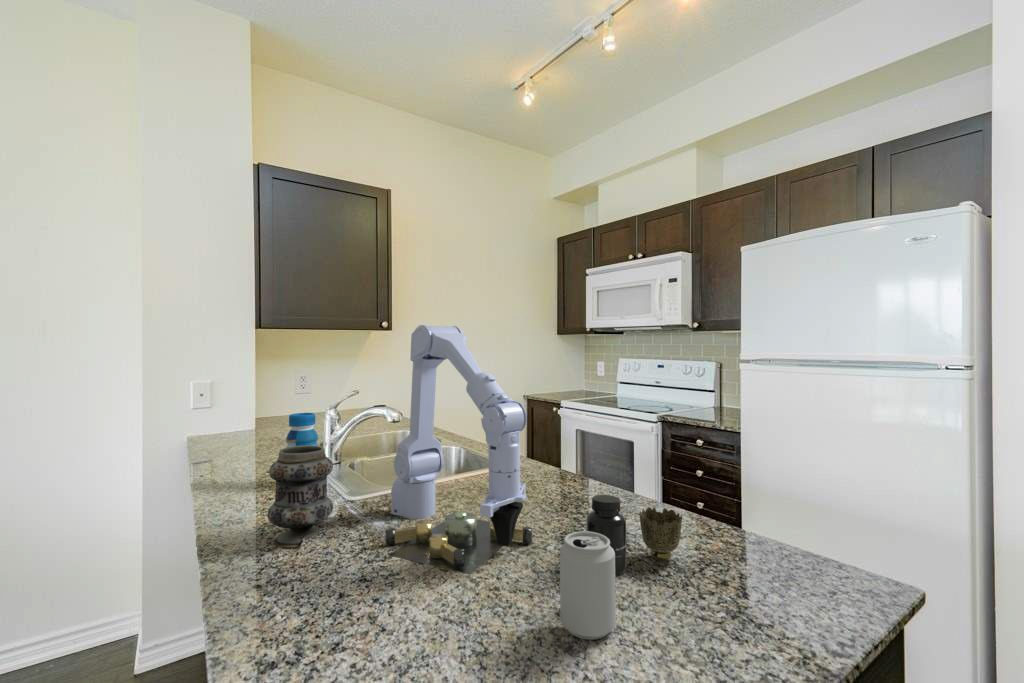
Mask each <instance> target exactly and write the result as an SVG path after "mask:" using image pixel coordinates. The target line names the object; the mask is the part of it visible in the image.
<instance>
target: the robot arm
mask: <svg viewBox="0 0 1024 683" xmlns="http://www.w3.org/2000/svg"><path fill="white" fill-rule="evenodd" d="M410 341H411V342H410V361H411V362H412V373H411V375H412V376H411V377H412V378H411V397H410V416H409V418H410V419H409V434H408V435H407V436H406V437H405V438H404V439H403V440H402V441H400V442H399V443H398V444H397V447H396V448H397V450H396V455H395V457H394V461H393V467H394V473H395V475H396V476H397V478H395V480H394V481H393V483H392V486H391V491H390V493H391V495H390V498H391V499H390V502H391V503H390V507H391V508H390V509H391V510H390V511H391V512H390V513H391V514H390V515H395V516H401V517H403V518H406V519H410V520H424V519H427V518H431V517H433V516H434V515H435V514H436V479H437V478H438V477H439V473H440V472H441V471H442V469H443V466H444V456H443V451H442V446H443V445H442V442H441V441H439V439H437V438H436V437H435V436H434V428H435V426H434V425H435V411H436V410H435V408H436V405H435V403H436V387H437V386H436V385H437V384H436V383H437V368H438V367H439V365H441V364H442V363H443V362H444V361H446V360H448V361H449V362H450V363H451V365H453V367H454V368H455V369H456V370H457V372H458V373H459V374H460V376H462V377H463V379H464V380H465V381H466V382H467V383H466V387H465V388H466V389H465V390H466V393H467V394H468V397H470V399H471V400H472V402H473V403H474V405H475V406H476V408H477V409H478V411H479V412H480V414H481V415H482V418H481V419H480V421H481V427H482V429H483V432H484V434H485V442H486V444H487V445H488V493H487V494H486V496H485V498H484V501H483V502H482V503H480V506H479V508H480V509H479V510H480V511H479V516H480V517H484V518H489V519H490V520H491V521H492V524H493V526H494V530H495V533H496V537H497V541H498V545H502V546H503V547H510V546H511V545H512V543H513V540H514V539H513V535H514V530H515V526H517V521H518V519H519V517H520V514H521V511H522V510H523V509H524V503H523V502H524V501H525V500H526V499H527V493H526V492H527V491H526V483H524V482H521V432H522V431H523V430H524V429H525V427H526V425H527V422H528V421H527V413H526V409H525V408H524V406H523V404H522V402H520V401H517V400H513V398H511V397H508V395H507V394H506V393H505V391H504V390H503V389H502V387H501V386H500V384H498V382H497V381H496V378H495V376H494V374H491V373H489V372H483V371H482V369H481V368H480V367H479V365H478V363H477V361H476V360H475V358H474V356H473V354H472V353H471V352H470V350H469V347H467V335H466V334H464V332H463V330H462V329H461V327H459V326H457V325H453V326H443V325H442V326H441V325H426V324H420V325H417V327H416V328H415V330H413V332H412V333H411V338H410Z"/></svg>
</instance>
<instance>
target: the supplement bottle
mask: <svg viewBox="0 0 1024 683" xmlns="http://www.w3.org/2000/svg"><path fill="white" fill-rule="evenodd" d="M621 508H622V507H621V499H620V498H619V497H617V496H614V495H612V494H611V495H610V494H598V495H597V494H596V495H594V496H592V498H591V510H592V511H590V512H589V513H588V514H587V516H586V518H585V519H586V520H585V522H586V523H585V530H586V531H589V532H595V533H599V534H602V535H604V536H606V537H607V538H608V539H609V540H610V546H611V547H612V548H613V550H614V552H615V577H616V576H620V575H622V574H623V573H624V572H625V571H626V570H627V520H626V518H625V516H624V515H623V514H622V513H621V511H622V509H621Z"/></svg>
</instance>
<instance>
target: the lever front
mask: <svg viewBox="0 0 1024 683" xmlns="http://www.w3.org/2000/svg"><path fill="white" fill-rule="evenodd" d="M430 557H432V558H444V559H446V560H448V561H450V562H451V563H453V564H454V567H456V568H462V567H464V565H465V557H464V550H463V549H457V548H455V547H453V546H451V545H449V544H448V536H447V535H445V534H434V535H432V536H430Z"/></svg>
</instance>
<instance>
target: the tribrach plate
mask: <svg viewBox="0 0 1024 683" xmlns="http://www.w3.org/2000/svg"><path fill="white" fill-rule="evenodd" d="M444 517H445V518H444V521H443V522H441V523H439V524H437V525H436V526H434V527H432V535H434V534H445V535H447V536H448V544H449V545H451V546H453V547H455V548H457V549H463V550H464V557H465V565H464V567H462V568H456V567H454V564H453V563H451V562H450V561H448V560H446V559H444V558H432V557H430V541H428V542H417V541H416V540H410V541H408V542H407V543H406V544H404V545H402V546H400V547H398V548H397V549H395V550H394V551H392V552H391V553H389V554H388V556H389V557H394V558H399V559H403V560H407V561H411V562H414V563H415V562H416V563H419V564H424V565H429V566H433V567H437V568H442V569H446V570H450V571H454V572H459V573H461V574H467V575H471V574H472V573H473V572H475V570H477V569H478V568H479V567H480V566H482V565H483V564H484V563H485V562H486V561H488V560H489V559H490V558H491V557H492V556H493V555H495V554H496V553H497V552H498V551H499V550H500V549H502V548H503V547H504V546H502V545H498V541H497V540H494V539H491V538H490V520H482V519H478V518H477V515H476V514H475V513H472V512H469V511H462V510H461V511H456V512H452V513H449V514H447V515H446V516H444ZM516 527H519V526H518V525H516ZM521 527H522V526H521ZM524 527H525V526H523V527H522V528H524Z"/></svg>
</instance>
